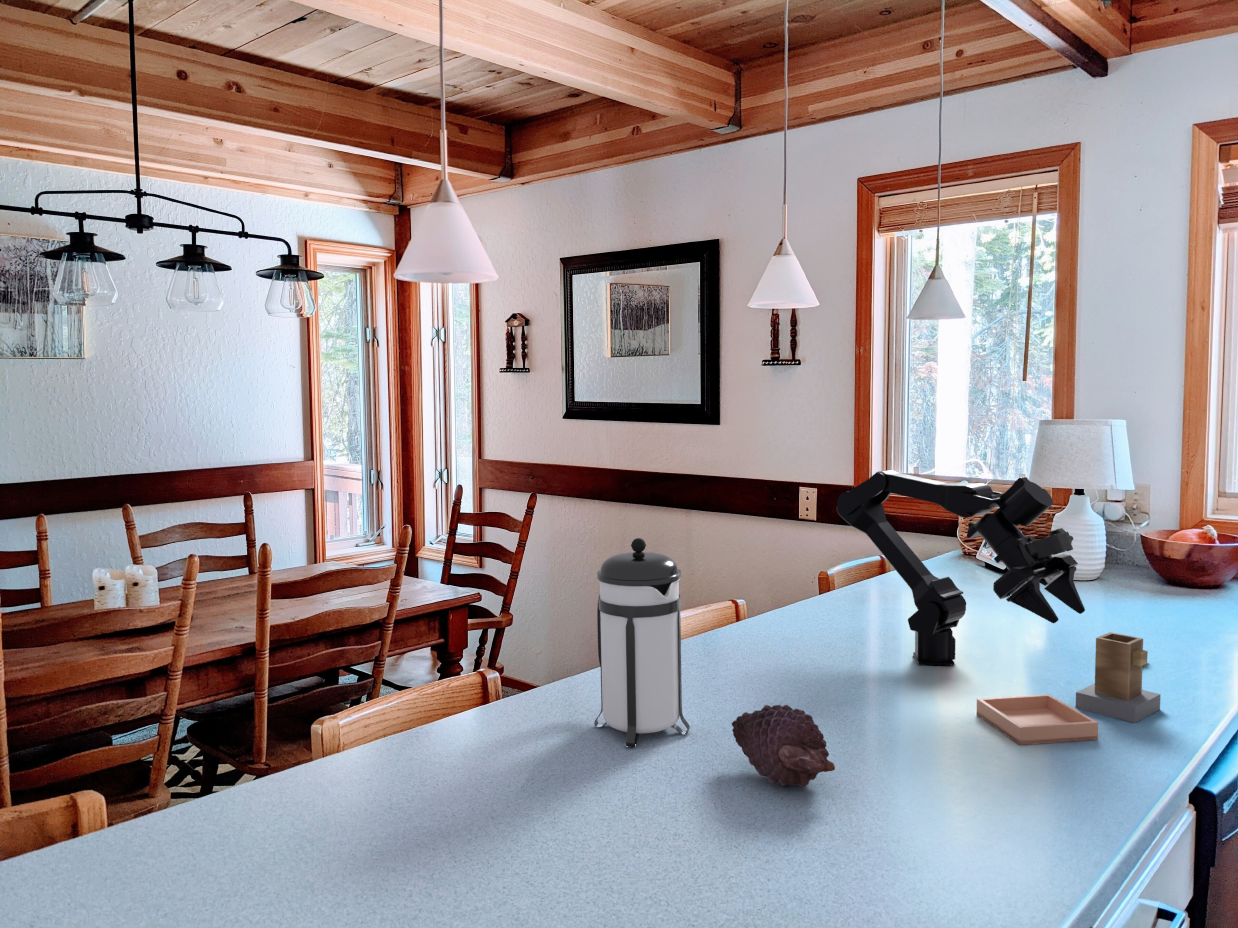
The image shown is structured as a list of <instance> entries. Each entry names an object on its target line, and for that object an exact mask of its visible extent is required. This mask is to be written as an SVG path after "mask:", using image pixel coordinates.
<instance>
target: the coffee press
mask: <svg viewBox="0 0 1238 928" xmlns="http://www.w3.org/2000/svg"><path fill="white" fill-rule="evenodd" d="M630 547H631V549H632V551H633V552H632V551H631V552H624V553H623V552H622V553H619V554H618V553H617V554H615V555H611V556H609V557H608V558H606V559H605V560H604V561H603V562H602V564H601V566H600V568H599V569H598V571H597V572H596V579H597V581H598V582H599V596H598V600H597V606H596V607H597V610H596V612H597V614H596V618H597V624H596V625H597V652H598V661H599V662H598V663H599V666H600V695H601V696H600V697H601V698H600V700H601V701H600V702H601V706H600V707H601V710H600V712H599V714H598V716H597V717H596V718H595V720H594V724H593V725H594V726H595V727H596V726H597V725H598V724H600V723H599V721H598V719H599V717H600V716H601V715H602V717H603V719H604V723H602V724H603V726H602V728H603V727H604V726H606V725H608V726H609V727H611V728H613V729H615V730H617V731H621V732H624V733H626V737H625V738H626V739H625V747H626V746H628V747H627V748H633V747H635V744H637V745H638V739H639V735H640V734H651V733H652V734H653V733H657V732H661V731H665V730H668V729H670V728H673V729H674V730H676V731H677V732H678V733H679V734H680V735H681V734H682V732H683V731H684V730H683V729H682V728H681V727H680V726H679V725H678V724H676V723H677V722H678V721H679V719H680V721H681V722H682V724H683V725H684V726H685V728H686V729H687V730H685V731H686V733H685V734H686V735H687V734H688V733H689V731H690V729H691V727H690V724H689V723H688V721H687V720H686V719H685V717H684V714H683V703H682V701H683V696H682V691H683V689H682V688H683V687H682V636H681V635H682V634H681V633H682V628H681V627H682V626H681V622H682V621H681V617H682V616H681V594H680V593H679V592H680V591H679V589H680V588H679V583H680V580H681V577H682V571H681V570H680V569H679V568H678V565H677V563H676V561H675V560H674V559H673V558H672V557H670V556H668V555H665V554H663V553H657V552H650V551H644V550H646V547H647V544H646V541H645V540H644V539H642V538H641V537H637V538H634V539H633V540H632V541H631V544H630Z"/></svg>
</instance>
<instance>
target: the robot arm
mask: <svg viewBox="0 0 1238 928" xmlns="http://www.w3.org/2000/svg"><path fill="white" fill-rule="evenodd" d="M891 494H893V495H898V496H903V497H907V498H911V499H915V500H920V501H925V502H928V503H933V504H935V505H938V506H940V507H941V508H943V509H944V510H945V511H946V512H948V513H952V514H954V515H956V516H958V517H960V518H967V519H968V518H972V517H976V516H981V515H982V516H981V518H979V520H977V521H972V522H968V524H967V526H968V527H967V528H968V529H967V531H966V538H968V539H971V538H972V539H973V538H976V537H981V538H982V539H983V541H985V542H986V543H987V545H988V546H989V548H991V550H992V551H993V552H994V554H996V556H995V557H993V560H994V561H995V563H996V564H1000V563H1003V565H1004V566H1005V567H1006V569H1007V571H1006V572H1005V573H1003V574H1002V575H1001V576H1000V577H998V578H997V579H996V580H995V581H994V582H993V583H992V584H993V592H994V593H995V595H996V596H997V597H998V599H999V600H1003V599H1006V601H1007V602H1008V603H1009V602H1010V603H1012V604H1015V605H1017V606H1019V607H1021V608H1022V609H1024V610H1028V611H1029V612H1031V613H1032V614H1035V615H1036V616H1038V617H1039V618H1040V617H1041V618H1042V619H1044V620H1045V621H1047V622H1050V623H1051V624H1055V623H1057V622H1059V617H1058V616H1057V614H1056V612H1055V611H1054V609H1053V608H1052V606H1051V605H1050V603H1049V601H1048V599H1046V597H1045V596H1044V594H1043V593H1042V591H1041V585H1043V586H1044V590H1045V591H1047V592H1048V593H1049V594H1051V595H1052V596H1054V597H1055V598H1057V600H1059V601H1061V602H1062V603H1063V604H1064V605H1066V606H1067V607H1068V608H1070V609H1071V610H1073V611H1074V612H1076V613H1077V614H1080V615H1081V614H1083V613H1084V612H1085V611H1086V607H1085V606H1084V604H1083V601H1082V599H1081V597H1080V595H1079V592H1078V590H1077V589H1078V588H1077V587H1076V584H1075V580H1074V577H1075V572H1077V566H1078V562H1077V561H1076V560H1075V558H1074V557H1073V556H1072V555H1071V554H1066V552H1070V551H1073V550H1074V548H1073V545H1072V544H1073V543H1072V542H1073V540H1074V537H1073V536H1072V535H1070V534H1069V533H1070V532H1069V531H1066V530H1065V529H1064V528H1063V527H1061V528H1060V527H1059V528H1056V529H1054V530H1050V531H1049V533H1048V536H1046V537H1042V538H1040V539H1036V538H1035V536H1032V535H1028V536H1025V535H1024V533H1023V532H1022V530H1021V529H1019V528H1018V526H1023V527H1029V526H1030V525H1031V524H1032V523H1033V522H1035V520H1037V519H1038V518H1039V517H1040V516H1041V515H1042V514H1044V513H1045V512H1047V511H1048V509H1049V508H1051V507H1052V506H1053V504H1054V500H1053V498H1052V496H1051V495H1050V493H1049V492H1048V491H1047V490H1046V489H1045V488H1042V487H1041V486H1040V485H1038V484H1037V483H1035V482H1033V481H1031V480H1030V479H1029V478H1028V477H1026V476H1022V477H1019V478H1017V479H1016V480H1015V481H1014V482H1013V484H1012V485H1010V487H1009V488H1008V489H1007V490H1006V491H1004V493H1003V492H1000V491H996V490H992V487H991V486H990V485H989V484H987V483H983V482H952V483H951V482H944V481H938V480H934V479H929V478H926V477H925V478H924V477H920V476H914V475H910V474H909V475H908V474H905V473H901V472H897V471H895V470H893V469H890V470H889V469H888V470H882V471H877V472H875V473H873V475H871V476H870V477H869V478H868V479H866V480H864V481H862V482H861V483H859V484H857V485H856V486H855V487H852V488H851V490H849V491H847V490H846V491H844V492H842V493H841V494H840V495H839V496H838V498H837V501H836V512H837V514H838V515H839V516H840V517H841V518H842V519H843V521H845V522H846V523H847V524H848V525H849V526H851V527H853V528H854V529H856V530H858V531H860V532H862V533H864V534H865V535H866V536H867V537H868V538H869V539H870V540H871V541H872V543H873V544H874V545H875V547H877V549H878V550H879V551H880V553H881V554H882V555H883V556H884V558H885V559H886V560H887V562H888V563H889V564H890V565H891V566H892V567H893V569H894V570H895V571H896V573H897V574H898V575H899V576H900V577H901V579H902V580H903V581H904V582H905V583H906V585H907V586H908V587H909V588H910V590H911V593H912V597H913V602H914V606H915V607H916V609H917V610H916V611H915V612H914V613H913V614H912V615H910V617H908V619H907V622H908V627H909V630H910V631H913V632H914V634H915V635H914V645H915V646H914V652H912V655H913V656H912V657H914V659H915V661H916V663H917V664H918V665H922V666H923V665H927V666H928V665H929V666H932V665H934V666H955V660H956V638H955V637H954V635H953V630H952V628H957V627H958V625H959V621H960V620H961V619H963V617H964V616H965V614H966V611H967V601H966V599H965V597H964V596H963V594H964V591H962V590H960V589H959V588H958V587H957V585H956V584H955V583H954V581H953V579H951V577H949V576H945V577H942V578H938V577H936V576H935V575H934V574H933V573H932V572H931V571H930V570H929V569H928V567H927V566H926V565H925V564H924V563H923V562H922V560H921V559H920V558H919V557H918V556H917V555H916V553H915V552H914V551H913V550H912V548H911V547H910V546H909V545H908V544H907V542H905V540H904V539H903V538H902V537H901V536H900V535H899V533H898V532H897V531H896V529H895V528H894V527H893V526H892V524H890V522H889V521H888V520H887V516H886V512H885V507H884V504H883V503H884V502H886V501H887V500H888V498H889V497H890V496H891ZM993 509H996V510H995V511H994V512H993V513H990V512H992V510H993ZM1058 554H1059V555H1058ZM1053 555H1054V556H1053Z"/></svg>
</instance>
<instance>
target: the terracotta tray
mask: <svg viewBox="0 0 1238 928" xmlns="http://www.w3.org/2000/svg"><path fill="white" fill-rule="evenodd" d="M976 715H977V716H978V717H979V718H981V720H983V721H985V722H987V724H989V725H990V726H992V727H993V728H995V729H997V730H998V731H999V732H1000V733H1002V734H1003V735H1004V736H1006V737H1007V738H1009V739H1010V740H1012V741H1013V742H1014V743H1016V744H1017V745H1019V746H1027V745H1039V744H1042V745H1043V744H1055V743H1056V744H1057V743H1069V742H1070V743H1071V742H1072V743H1073V742H1084V741H1098V740H1099V722H1098V721H1096V720H1095V719H1093V718H1091V717H1089V716H1088V715H1086V714H1084V713H1082V712H1081V711H1079V710H1077V709H1076V708H1074V707H1073V706H1070V705H1069V704H1067V703H1065V702H1063V701H1062V700H1059V699H1058V698H1056V697H1054V696H1053V695H1052V694H1050V693H1049V694H1036V695H1034V694H1033V695H1030V694H1029V695H1017V696H1000V697H985V698H984V697H983V698H982V697H981V698H977V699H976Z"/></svg>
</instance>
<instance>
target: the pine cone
mask: <svg viewBox="0 0 1238 928" xmlns="http://www.w3.org/2000/svg"><path fill="white" fill-rule="evenodd" d="M762 707H763V708H761V710H760V709H759V710H754V711H753V712H751V713H749V712H747V711H746V712H743V713H742V714H741V715H739V716H737V717H736V719H735V720H733V721H732V722H731V727H732V735H733V738H735V742H736V744H737V746H738V747H740V748H741V750H742V753H743V754H744V755H745V757H747V758H748V761H749V764H750V765H751V766H753V767H754V769H755V770H756V772H757V774H758V775H760V777H766V779H767V780H768V782H770V783H771V784H777V783H778V784H780V785H781V786H787V785H790V786H793V785H794V787H797V786H801V787H806V786H807V785H809V783H810V781H814V780H815V779H816V778H817V776H818V774H819V773H827V772H833V771H835V770H836V766H835V763H834V762H832V761H831V760H828V757H829V755H830V752H829V751H828V749H827V748H826V747H827V745H828V744H827V741H826V740H825V737H824V734H823V733H822V731H821V730H820V729H819V725H818V724H817V723H815V722H814V719H813V716H812V714H808V713H806V711H805V710H802V709H799V708H794V709H793V708H792V707H791V706H790V705H789V704H784V705H781V704H776V705H773V706H771V705H768V704H765V705H763V706H762Z"/></svg>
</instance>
